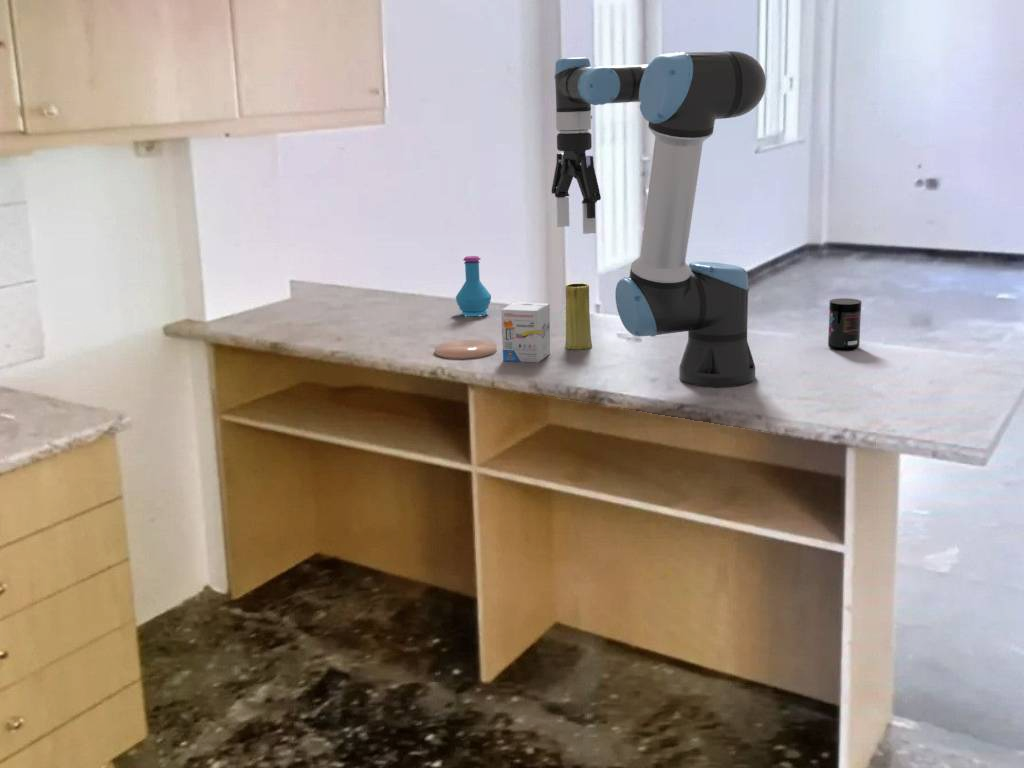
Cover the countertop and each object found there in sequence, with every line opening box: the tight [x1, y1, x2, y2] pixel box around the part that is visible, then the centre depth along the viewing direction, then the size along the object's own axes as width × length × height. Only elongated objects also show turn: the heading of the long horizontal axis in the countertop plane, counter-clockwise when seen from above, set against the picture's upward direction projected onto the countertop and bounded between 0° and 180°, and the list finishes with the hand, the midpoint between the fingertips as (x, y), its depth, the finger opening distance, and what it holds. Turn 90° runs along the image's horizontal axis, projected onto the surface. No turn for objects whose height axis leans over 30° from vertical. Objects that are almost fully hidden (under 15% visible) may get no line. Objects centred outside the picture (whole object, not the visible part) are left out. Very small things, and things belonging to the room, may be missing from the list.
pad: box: [434, 339, 498, 360], centre depth 263 cm, size 14×14×1 cm
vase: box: [564, 282, 593, 351], centre depth 262 cm, size 6×6×14 cm
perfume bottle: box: [455, 255, 492, 317], centre depth 301 cm, size 9×9×15 cm
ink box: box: [500, 301, 551, 363], centre depth 254 cm, size 9×8×12 cm
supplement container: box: [827, 298, 863, 352], centre depth 253 cm, size 7×7×10 cm
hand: (576, 229), depth 256 cm, fingers open, 13 cm apart
